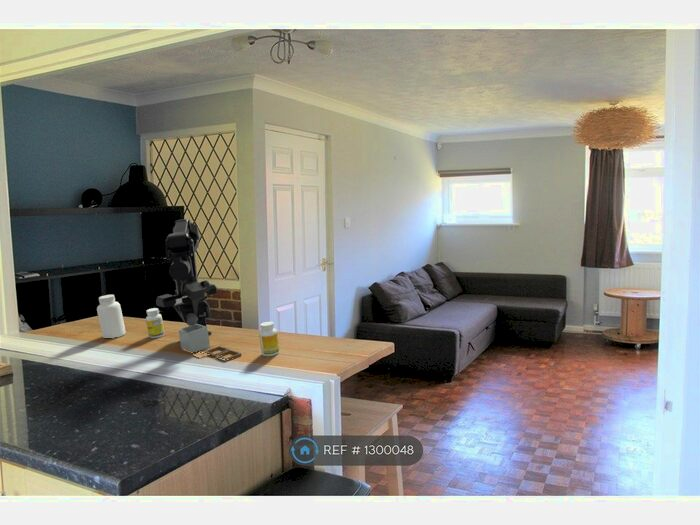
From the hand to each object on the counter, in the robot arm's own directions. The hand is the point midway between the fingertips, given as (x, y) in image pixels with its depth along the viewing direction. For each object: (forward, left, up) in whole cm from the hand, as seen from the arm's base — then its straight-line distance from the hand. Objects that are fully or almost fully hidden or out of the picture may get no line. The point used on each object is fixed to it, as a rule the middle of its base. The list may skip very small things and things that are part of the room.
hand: (191, 320), depth 180 cm
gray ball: (0, 0, -2) cm, 2 cm away
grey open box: (0, 0, -10) cm, 10 cm away
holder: (+13, +2, -10) cm, 16 cm away
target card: (+7, -3, -10) cm, 12 cm away
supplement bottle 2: (+26, +11, -10) cm, 30 cm away
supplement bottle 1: (-26, -1, -10) cm, 28 cm away
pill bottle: (-42, -10, -10) cm, 44 cm away
